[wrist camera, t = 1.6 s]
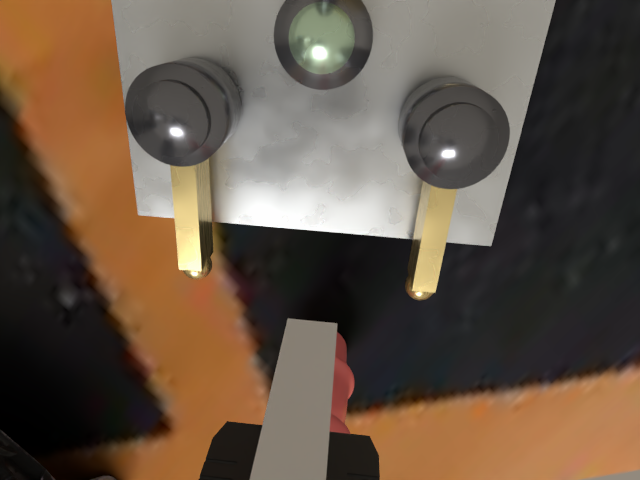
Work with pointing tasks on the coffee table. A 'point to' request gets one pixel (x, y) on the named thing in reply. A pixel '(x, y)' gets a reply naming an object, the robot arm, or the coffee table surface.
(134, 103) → the screw
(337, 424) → the figurine
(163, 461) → the coffee table surface
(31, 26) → the coffee table surface
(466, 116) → the screw
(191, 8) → the tribrach plate
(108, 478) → the vintage camera
